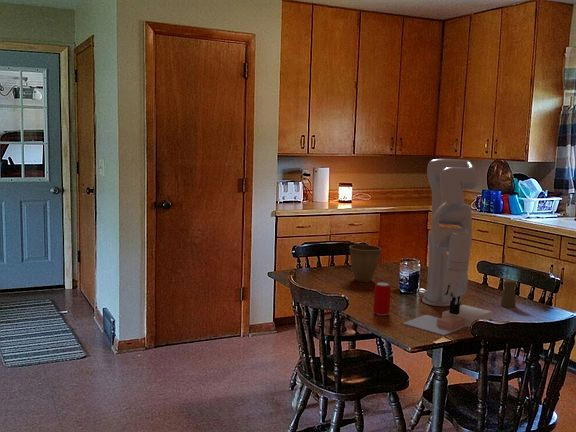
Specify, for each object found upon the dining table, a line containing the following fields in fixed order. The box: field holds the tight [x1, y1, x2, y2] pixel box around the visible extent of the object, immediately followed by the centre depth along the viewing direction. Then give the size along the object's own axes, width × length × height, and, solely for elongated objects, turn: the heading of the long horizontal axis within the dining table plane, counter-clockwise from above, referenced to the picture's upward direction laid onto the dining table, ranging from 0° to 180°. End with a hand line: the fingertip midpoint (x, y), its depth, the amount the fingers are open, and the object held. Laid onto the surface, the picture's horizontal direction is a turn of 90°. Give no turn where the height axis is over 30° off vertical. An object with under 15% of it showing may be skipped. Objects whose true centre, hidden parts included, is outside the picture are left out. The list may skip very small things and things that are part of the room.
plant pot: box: [349, 244, 382, 283], centre depth 288 cm, size 15×15×16 cm
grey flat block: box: [441, 304, 492, 328], centre depth 234 cm, size 12×16×3 cm
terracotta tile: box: [437, 315, 464, 330], centre depth 224 cm, size 6×9×2 cm, turn 137°
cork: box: [499, 279, 517, 309], centre depth 253 cm, size 6×6×11 cm
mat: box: [402, 314, 466, 337], centre depth 225 cm, size 17×16×1 cm
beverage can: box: [373, 282, 392, 317], centre depth 236 cm, size 6×6×12 cm
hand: (454, 313), depth 226 cm, fingers closed
